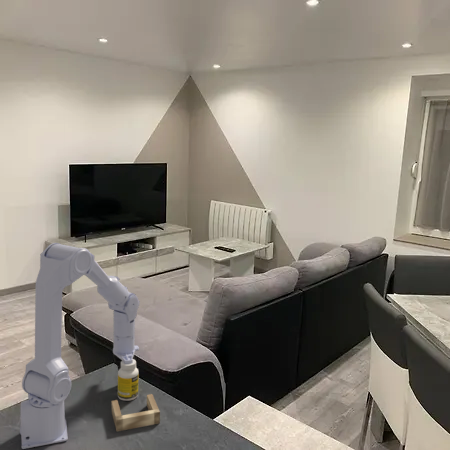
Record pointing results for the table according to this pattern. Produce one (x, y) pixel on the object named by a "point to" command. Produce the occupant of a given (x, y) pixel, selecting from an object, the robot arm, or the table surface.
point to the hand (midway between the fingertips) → (124, 379)
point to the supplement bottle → (128, 381)
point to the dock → (136, 416)
